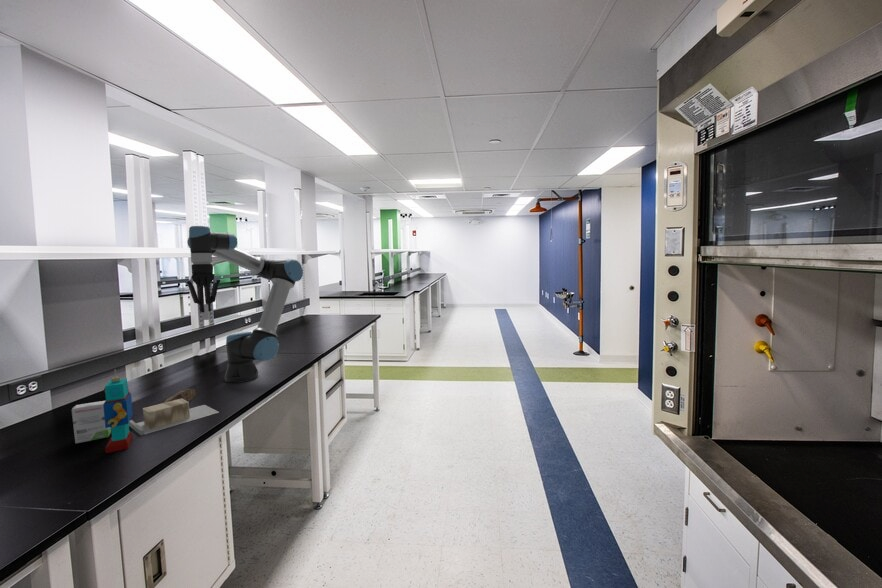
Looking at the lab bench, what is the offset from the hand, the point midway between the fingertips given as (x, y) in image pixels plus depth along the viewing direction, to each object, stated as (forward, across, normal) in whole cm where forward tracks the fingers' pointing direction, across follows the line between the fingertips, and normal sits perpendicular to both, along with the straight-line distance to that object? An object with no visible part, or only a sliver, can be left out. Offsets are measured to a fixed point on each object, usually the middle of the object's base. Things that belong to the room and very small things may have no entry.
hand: (205, 319), depth 165 cm
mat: (+34, +18, +13) cm, 41 cm away
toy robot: (+35, +36, +23) cm, 55 cm away
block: (+31, +14, +13) cm, 37 cm away
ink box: (+35, +40, +8) cm, 53 cm away
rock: (+35, +10, -8) cm, 37 cm away
